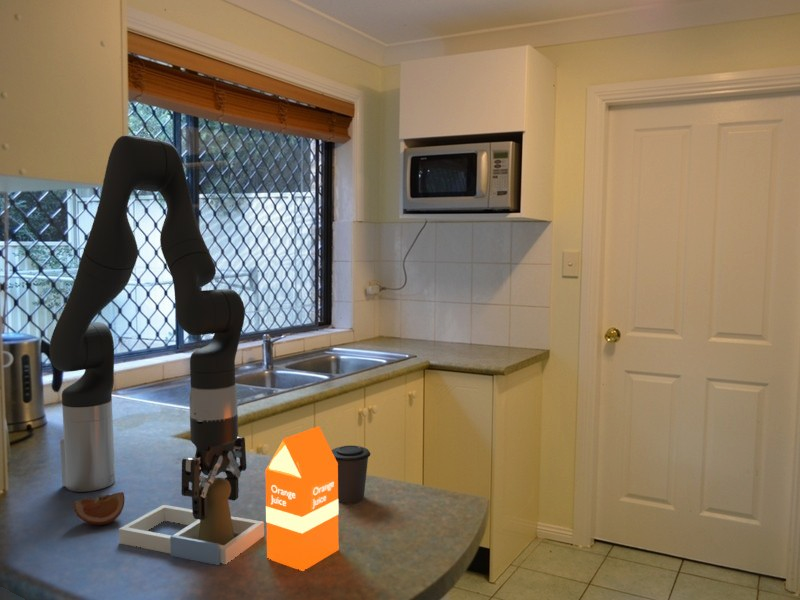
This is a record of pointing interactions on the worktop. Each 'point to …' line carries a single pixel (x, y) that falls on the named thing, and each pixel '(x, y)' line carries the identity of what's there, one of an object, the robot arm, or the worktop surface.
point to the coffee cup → (351, 472)
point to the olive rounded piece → (217, 514)
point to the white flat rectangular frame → (189, 536)
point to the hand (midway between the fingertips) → (216, 508)
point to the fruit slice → (100, 508)
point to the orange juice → (302, 501)
